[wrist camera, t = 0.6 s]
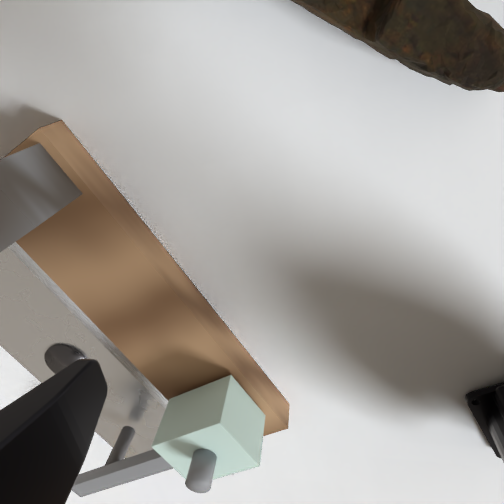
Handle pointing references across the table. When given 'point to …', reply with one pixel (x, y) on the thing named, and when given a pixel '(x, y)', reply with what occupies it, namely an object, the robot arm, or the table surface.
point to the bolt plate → (72, 348)
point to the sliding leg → (190, 441)
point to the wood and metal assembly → (120, 271)
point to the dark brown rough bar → (425, 36)
